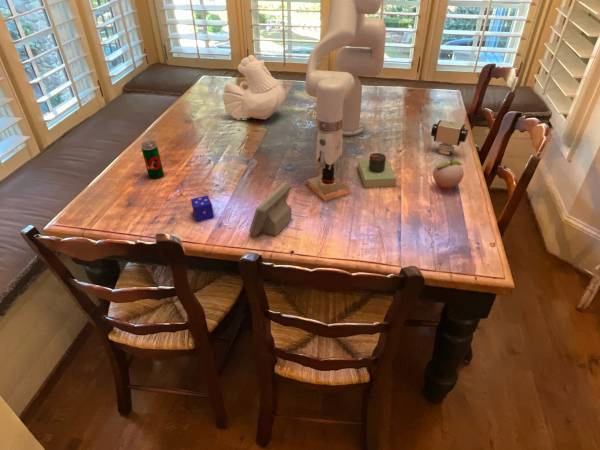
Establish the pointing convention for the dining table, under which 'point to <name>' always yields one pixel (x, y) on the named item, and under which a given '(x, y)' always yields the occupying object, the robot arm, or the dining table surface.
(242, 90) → the decorative rooster
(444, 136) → the pneumatic valve
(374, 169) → the dial knob
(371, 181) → the dial panel
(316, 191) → the button box
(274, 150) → the dining table surface
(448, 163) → the decorative fruit
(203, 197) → the die
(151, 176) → the soda can
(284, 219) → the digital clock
